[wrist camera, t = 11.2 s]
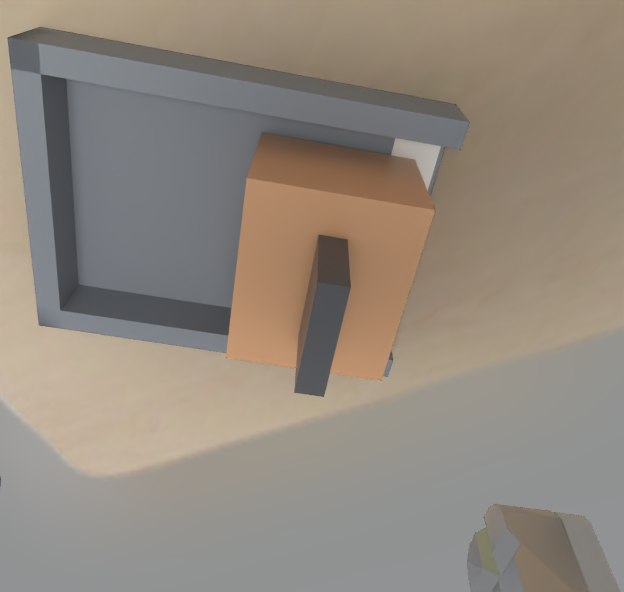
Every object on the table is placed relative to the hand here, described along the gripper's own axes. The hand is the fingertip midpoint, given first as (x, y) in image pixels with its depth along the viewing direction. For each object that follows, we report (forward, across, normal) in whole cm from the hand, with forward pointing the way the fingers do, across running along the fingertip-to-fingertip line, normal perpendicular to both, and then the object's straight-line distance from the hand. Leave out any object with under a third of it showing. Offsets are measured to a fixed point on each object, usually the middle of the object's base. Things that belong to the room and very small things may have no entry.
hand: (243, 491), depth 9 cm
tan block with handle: (+29, -2, +10) cm, 31 cm away
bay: (+30, +4, +10) cm, 32 cm away
